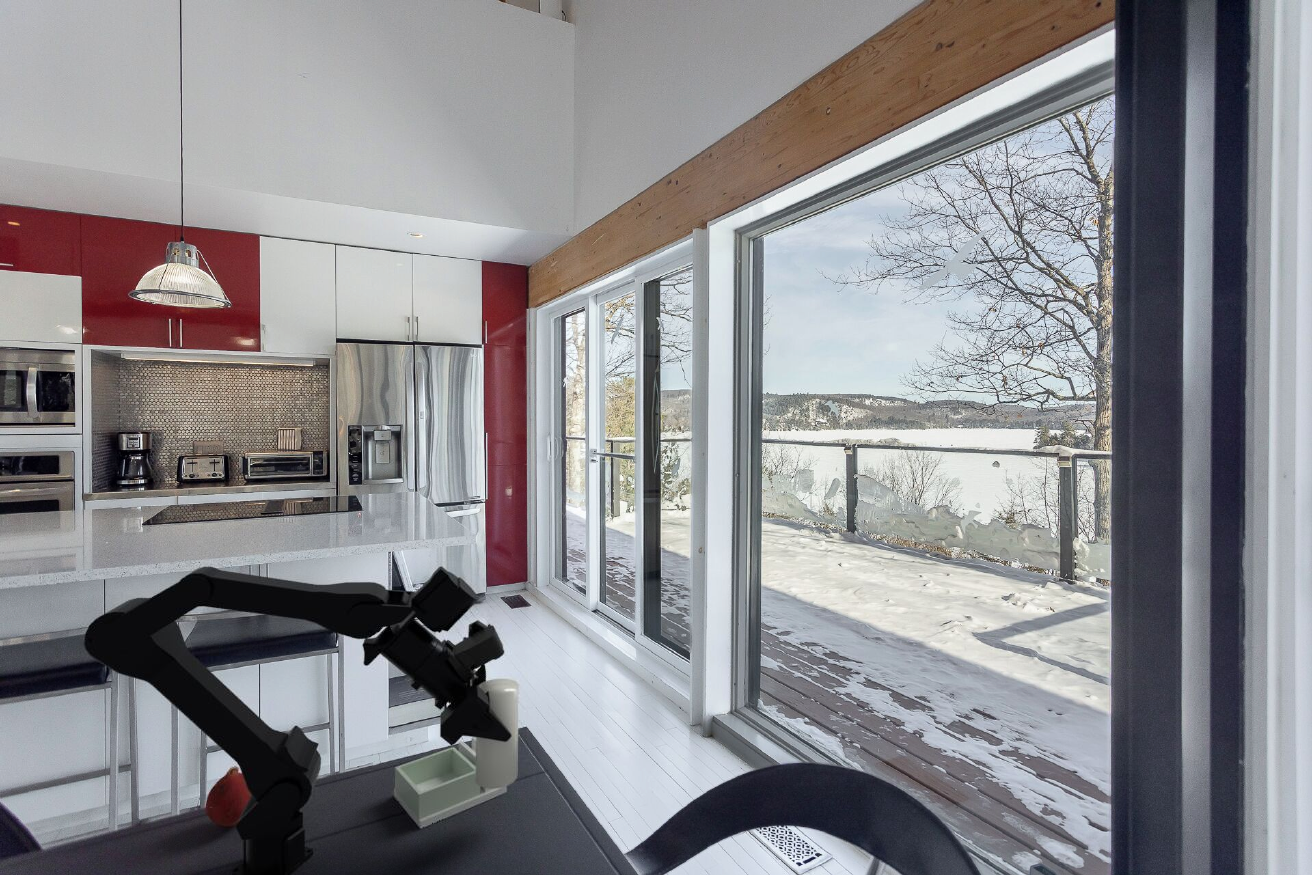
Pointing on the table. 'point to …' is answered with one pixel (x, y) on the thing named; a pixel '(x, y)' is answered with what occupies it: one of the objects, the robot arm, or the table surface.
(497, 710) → the off-white round-top cylinder
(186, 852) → the table surface
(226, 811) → the red rounded egg shape
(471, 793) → the pale green holder box
